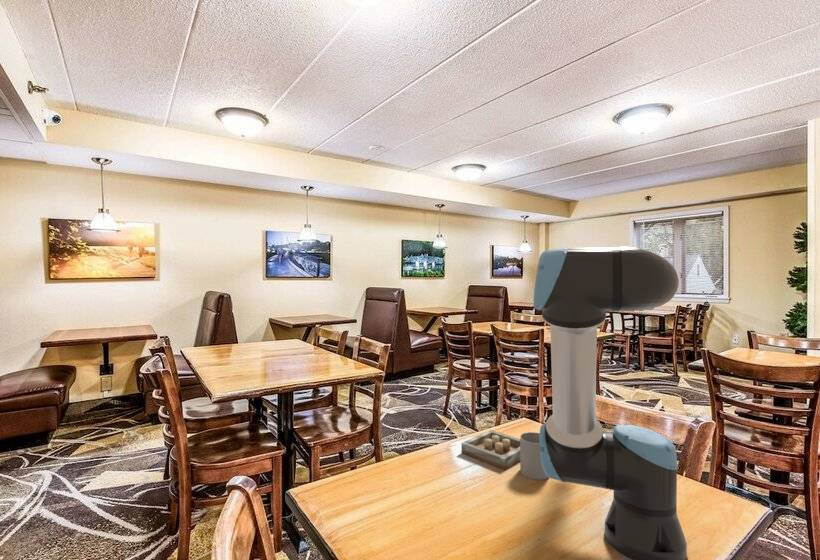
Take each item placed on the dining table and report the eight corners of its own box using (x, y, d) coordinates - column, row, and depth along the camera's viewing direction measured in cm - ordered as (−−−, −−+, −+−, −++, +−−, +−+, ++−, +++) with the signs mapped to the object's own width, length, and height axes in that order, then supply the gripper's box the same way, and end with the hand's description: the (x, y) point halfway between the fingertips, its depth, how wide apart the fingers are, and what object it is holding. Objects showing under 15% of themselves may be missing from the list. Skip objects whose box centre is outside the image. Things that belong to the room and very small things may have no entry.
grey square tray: (504, 469, 121) (504, 455, 121) (461, 453, 133) (461, 439, 133) (532, 453, 132) (532, 440, 132) (490, 439, 144) (490, 427, 144)
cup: (547, 466, 123) (547, 432, 123) (553, 480, 115) (553, 444, 115) (518, 465, 124) (518, 431, 124) (522, 478, 116) (522, 443, 116)
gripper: (591, 332, 111) (590, 412, 111) (592, 322, 133) (592, 389, 133) (561, 330, 114) (560, 408, 114) (567, 321, 136) (567, 386, 136)
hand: (577, 398), depth 124 cm, fingers open, 13 cm apart
